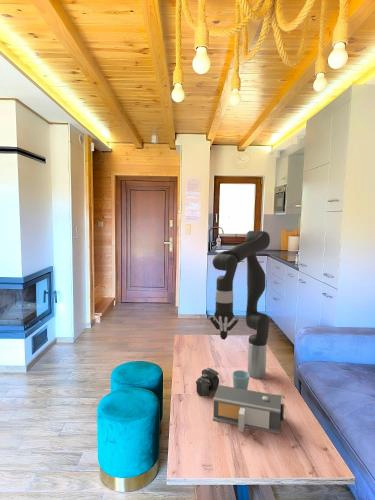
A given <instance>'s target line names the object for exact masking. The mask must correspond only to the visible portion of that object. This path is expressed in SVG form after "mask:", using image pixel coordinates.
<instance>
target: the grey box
mask: <svg viewBox="0 0 375 500" xmlns="http://www.w3.org/2000/svg"><path fill="white" fill-rule="evenodd" d="M215 391H216V392H215V394H214V396H213V399H212V401H213V417H212V421H215V422H220V423H226V424H231V425H235V426H238V418H239V410H240V407H241V406H244V407H249V408H255V409H260V410H265V411H270V414H269V429H266V428H262V427H257V426H252V425H247V424H245V427H244V428H248V429H249V428H250V429H253V430H254V429H255V430H259V431H264V432H268V433H272V434H277V435H280V433H281V432H280V430H281V422H283V421H284V416H285V415H284V412H285V410H284V409H285V404H284V403H282V395H278V394H273V393H268V392H267V393H266V392H261V391H256V390H250V389H247V390H245V389H239V388H234V386H233V387H232V386H226V385H221V384H219V385H218V387H217V389H216V390H215Z"/></svg>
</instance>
